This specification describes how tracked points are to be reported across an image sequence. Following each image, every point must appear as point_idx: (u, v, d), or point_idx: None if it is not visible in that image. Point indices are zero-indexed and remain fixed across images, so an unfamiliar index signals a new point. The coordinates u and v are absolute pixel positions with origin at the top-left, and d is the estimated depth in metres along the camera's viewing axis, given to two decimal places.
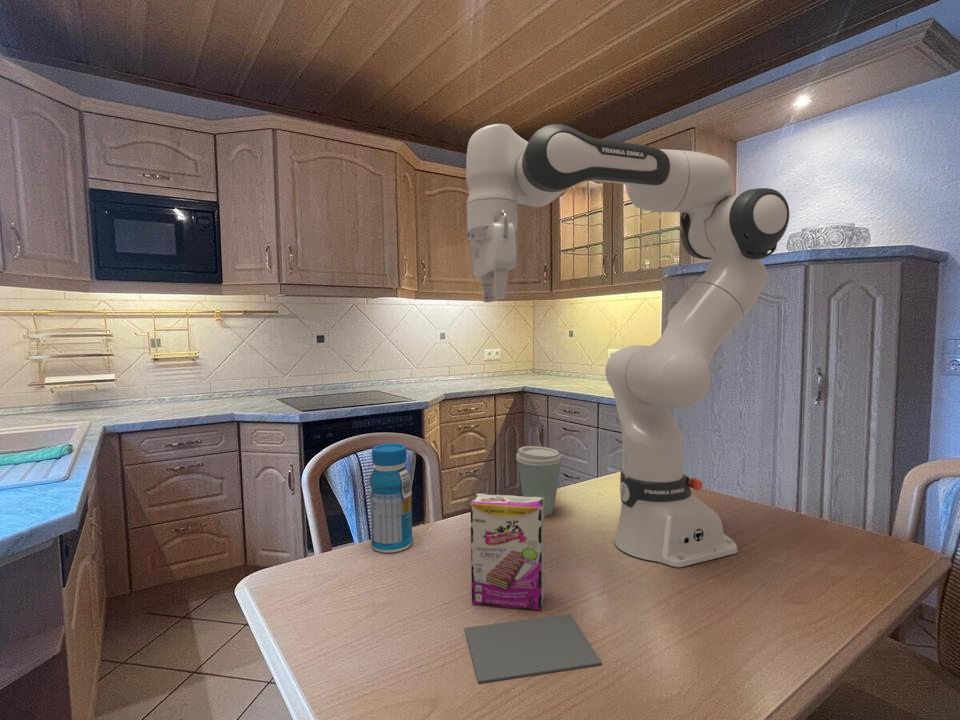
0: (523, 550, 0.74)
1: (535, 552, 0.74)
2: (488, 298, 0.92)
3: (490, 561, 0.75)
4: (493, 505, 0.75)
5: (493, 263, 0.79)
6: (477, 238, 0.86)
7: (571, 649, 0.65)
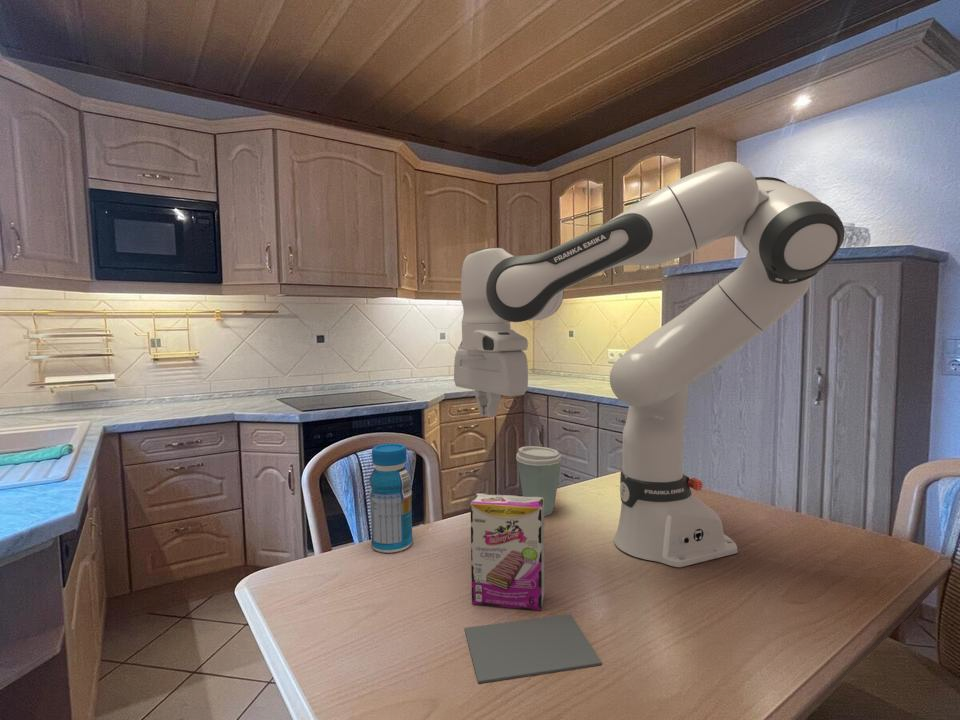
0: (523, 550, 0.74)
1: (535, 552, 0.74)
2: None
3: (490, 561, 0.75)
4: (493, 504, 0.75)
5: None
6: None
7: (571, 649, 0.65)
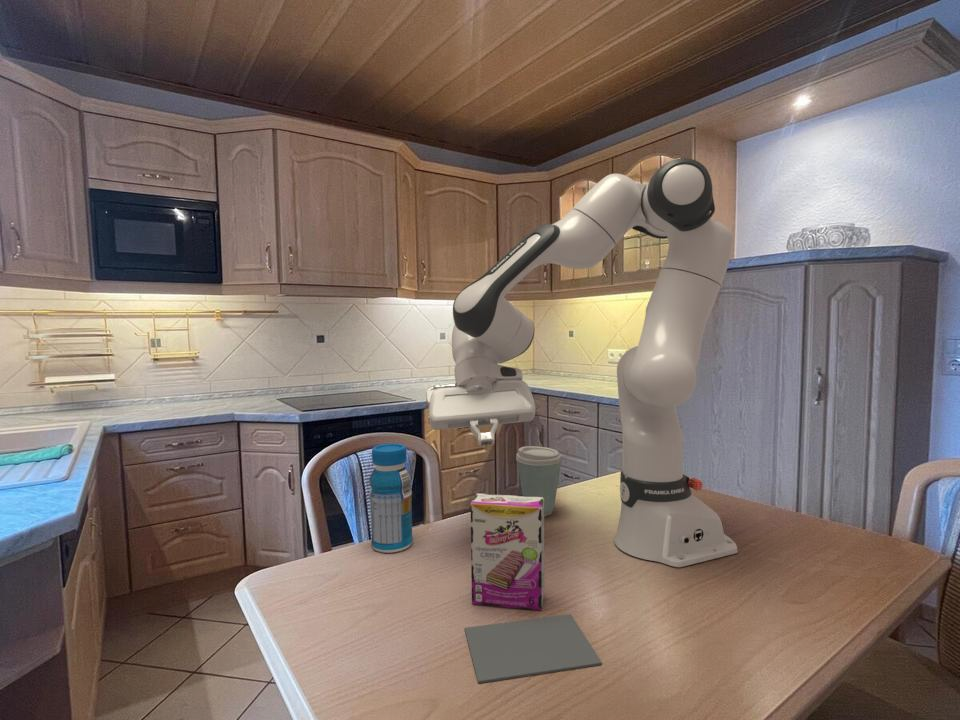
0: (523, 550, 0.74)
1: (535, 552, 0.74)
2: None
3: (490, 561, 0.75)
4: (493, 504, 0.75)
5: None
6: None
7: (571, 649, 0.65)
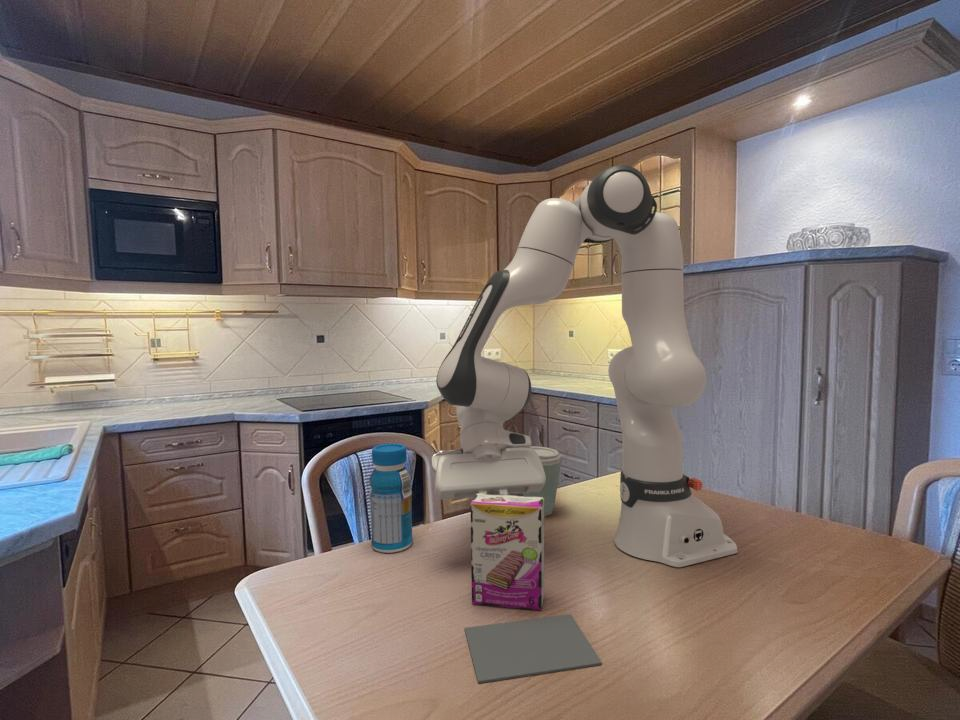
0: (523, 550, 0.74)
1: (535, 552, 0.74)
2: None
3: (490, 561, 0.75)
4: (493, 504, 0.75)
5: None
6: None
7: (571, 649, 0.65)
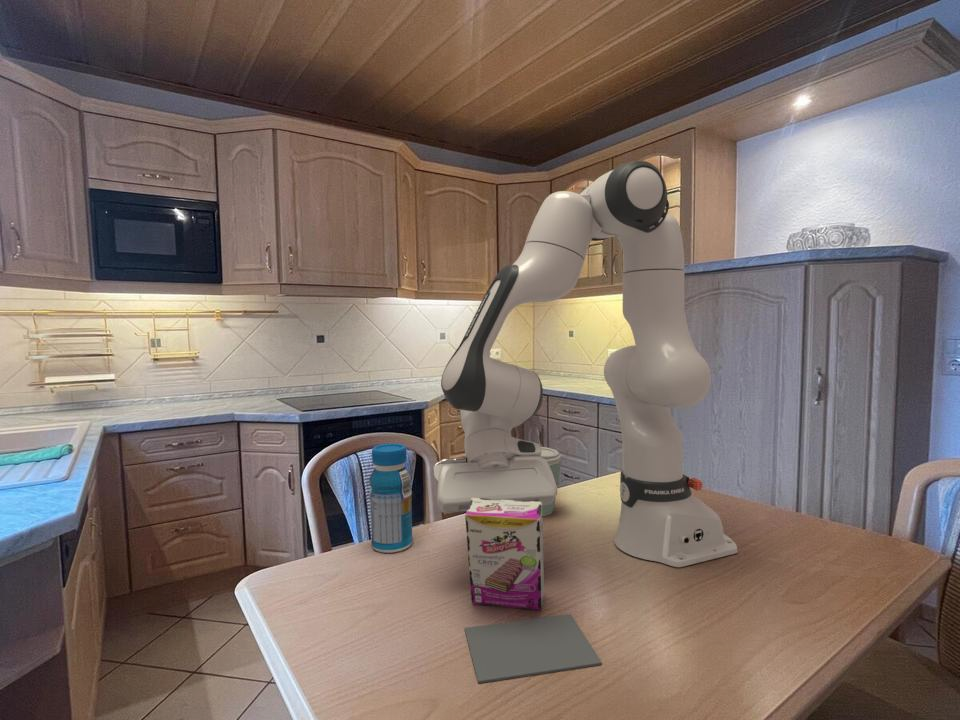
0: (521, 558, 0.72)
1: (534, 560, 0.72)
2: None
3: (488, 568, 0.74)
4: (489, 516, 0.72)
5: None
6: None
7: (571, 649, 0.65)
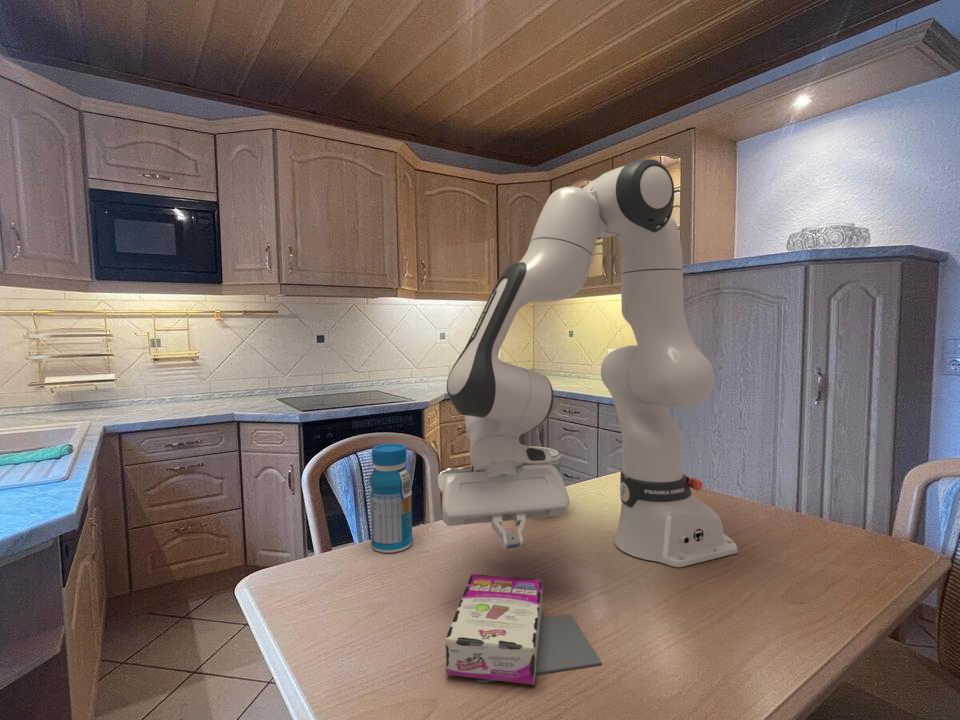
0: None
1: None
2: None
3: None
4: (474, 677, 0.60)
5: None
6: None
7: (571, 649, 0.65)
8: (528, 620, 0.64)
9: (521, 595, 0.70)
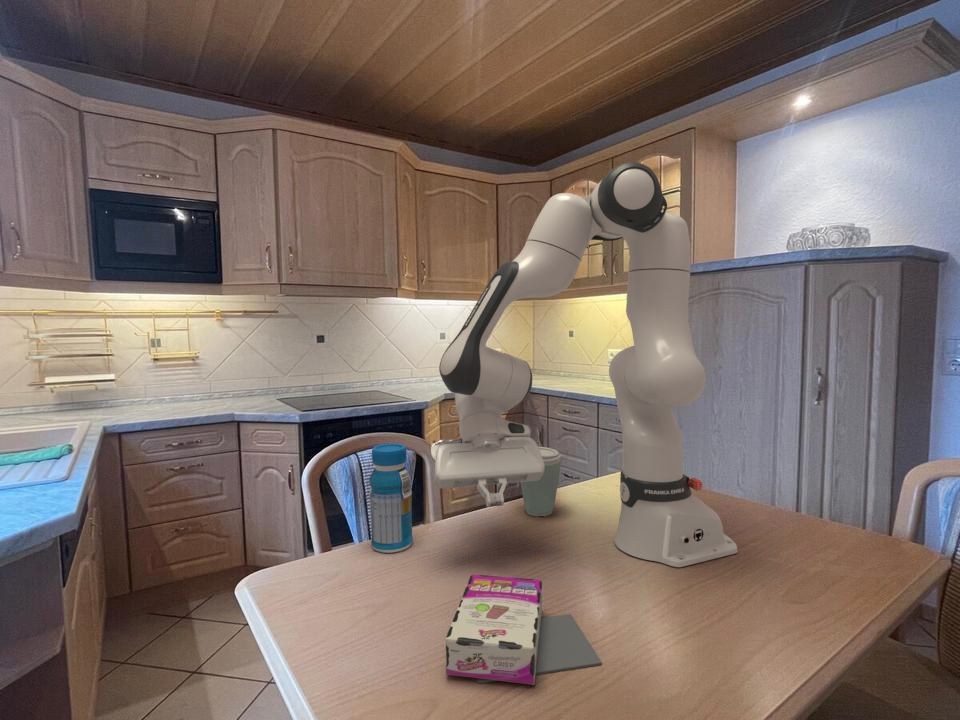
0: None
1: None
2: None
3: None
4: (474, 677, 0.60)
5: None
6: None
7: (571, 649, 0.65)
8: (528, 620, 0.64)
9: (521, 595, 0.70)
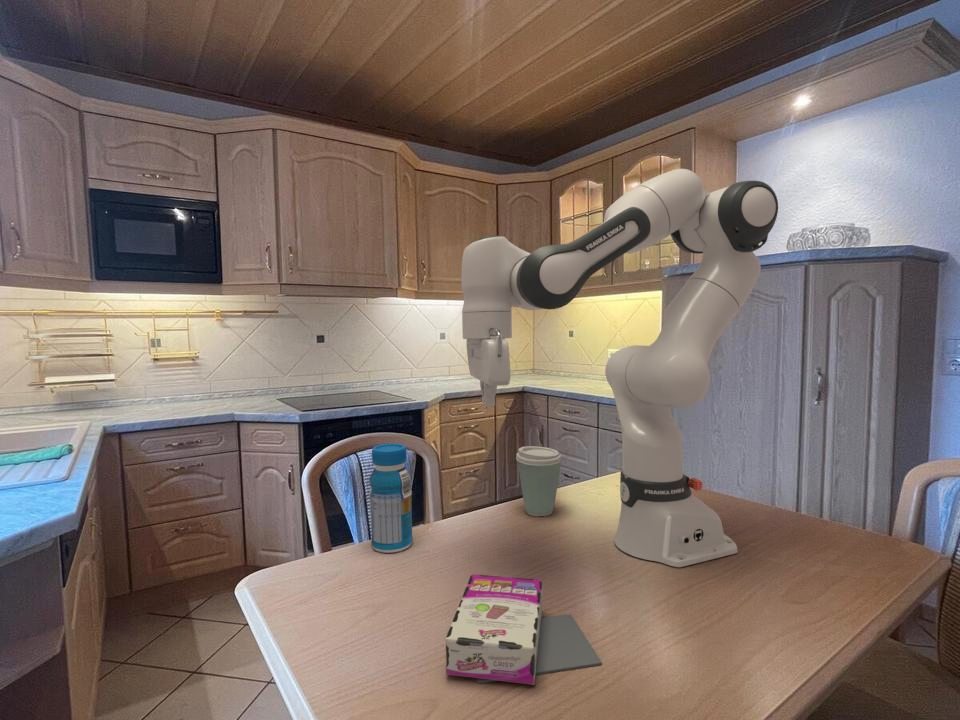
0: None
1: None
2: None
3: None
4: (474, 677, 0.60)
5: (487, 381, 0.80)
6: (472, 347, 0.87)
7: (571, 649, 0.65)
8: (528, 620, 0.64)
9: (521, 595, 0.70)
